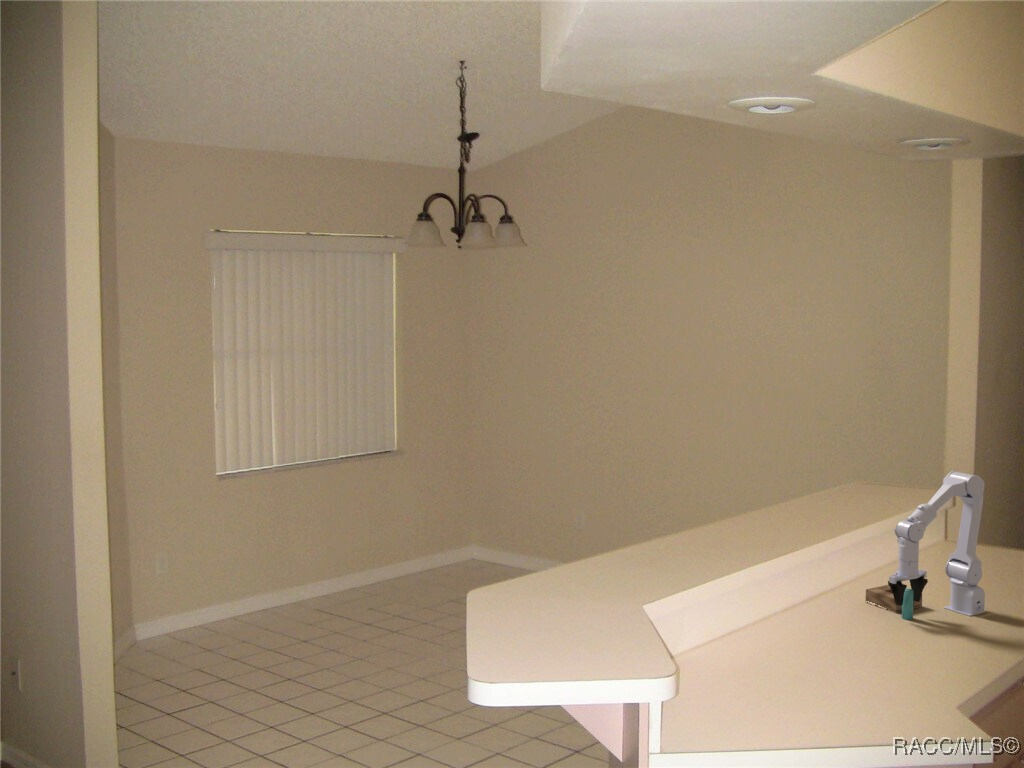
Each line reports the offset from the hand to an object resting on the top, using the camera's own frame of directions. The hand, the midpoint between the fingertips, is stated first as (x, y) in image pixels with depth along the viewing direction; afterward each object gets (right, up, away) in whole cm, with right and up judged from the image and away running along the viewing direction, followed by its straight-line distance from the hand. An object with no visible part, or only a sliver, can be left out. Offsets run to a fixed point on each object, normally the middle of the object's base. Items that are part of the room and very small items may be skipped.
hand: (907, 602), depth 291 cm
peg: (0, -5, 0) cm, 5 cm away
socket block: (+1, -4, +13) cm, 14 cm away
